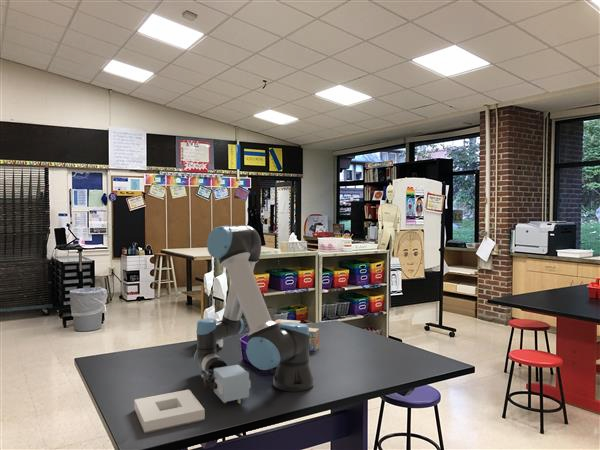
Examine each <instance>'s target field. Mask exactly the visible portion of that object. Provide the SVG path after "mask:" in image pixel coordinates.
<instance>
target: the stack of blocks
mask: <svg viewBox="0 0 600 450" xmlns="http://www.w3.org/2000/svg"><path fill="white" fill-rule="evenodd" d="M273 321H274V322H276V323H278V324H279V323H281V322H296V323H302V321H301V320H291V319H276V320H273ZM309 335H310V336H309V352H316V351H317V350H318V349H320V328H314V327H309Z"/></svg>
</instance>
